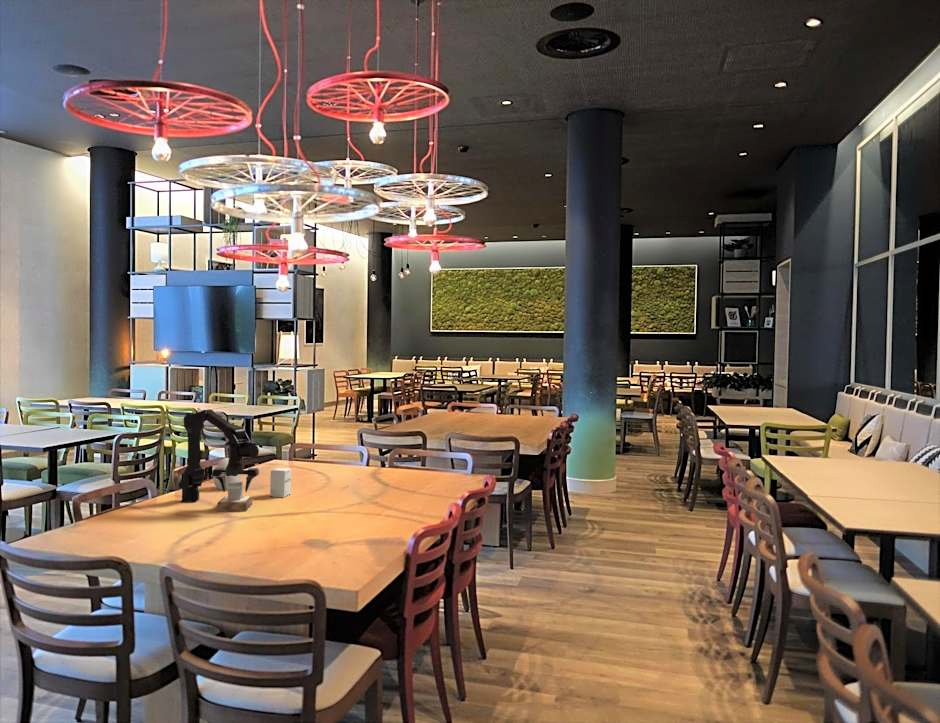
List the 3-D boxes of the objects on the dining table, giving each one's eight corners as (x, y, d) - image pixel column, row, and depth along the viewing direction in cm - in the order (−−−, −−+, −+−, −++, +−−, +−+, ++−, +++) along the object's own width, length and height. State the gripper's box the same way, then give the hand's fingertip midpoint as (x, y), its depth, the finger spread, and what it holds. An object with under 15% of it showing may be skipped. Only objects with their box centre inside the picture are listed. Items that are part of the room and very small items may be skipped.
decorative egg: (244, 487, 348) (245, 457, 347) (225, 492, 337) (226, 461, 336) (227, 484, 353) (227, 455, 353) (207, 489, 342) (208, 458, 342)
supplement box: (284, 497, 327) (284, 470, 327) (269, 496, 329) (270, 470, 328) (291, 494, 334) (291, 468, 334) (277, 493, 336) (277, 467, 336)
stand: (217, 511, 299) (217, 501, 299) (224, 504, 311) (224, 495, 311) (246, 511, 300) (246, 501, 300) (252, 504, 312) (252, 495, 312)
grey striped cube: (227, 500, 302) (227, 483, 302) (230, 497, 308) (230, 481, 307) (239, 500, 303) (240, 484, 303) (242, 497, 308) (242, 481, 308)
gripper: (208, 459, 296) (208, 495, 296) (253, 459, 298) (253, 496, 298) (215, 454, 307) (215, 490, 307) (259, 455, 309) (258, 490, 309)
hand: (235, 491), depth 305 cm, fingers open, 9 cm apart
